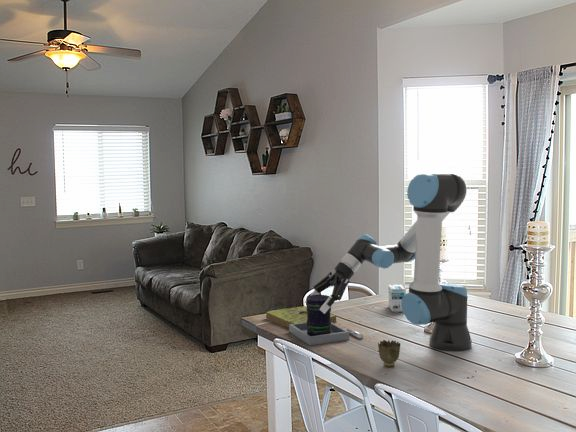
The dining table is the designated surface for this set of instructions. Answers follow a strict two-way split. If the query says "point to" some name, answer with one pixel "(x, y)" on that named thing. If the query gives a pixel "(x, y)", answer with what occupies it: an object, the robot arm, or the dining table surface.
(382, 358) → the cup
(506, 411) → the dining table surface
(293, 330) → the tray
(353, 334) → the rod
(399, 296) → the light bulb box
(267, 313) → the miniature landscape model
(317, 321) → the storage jar
